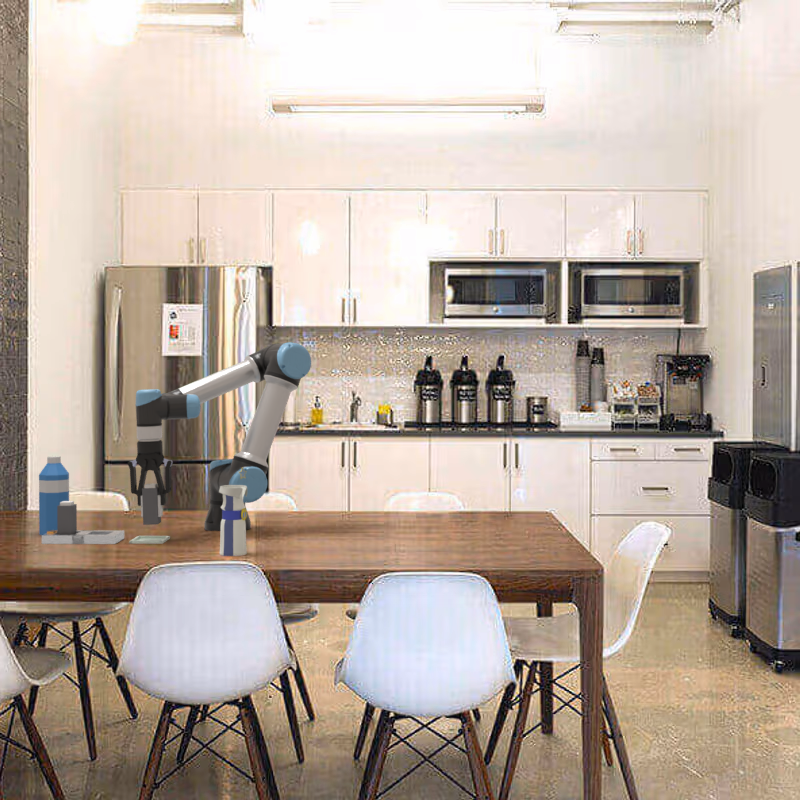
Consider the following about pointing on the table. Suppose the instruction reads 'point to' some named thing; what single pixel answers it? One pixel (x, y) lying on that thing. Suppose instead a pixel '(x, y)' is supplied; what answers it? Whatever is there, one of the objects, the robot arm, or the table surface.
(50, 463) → the water bottle
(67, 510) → the twin plug
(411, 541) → the table surface
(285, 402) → the robot arm
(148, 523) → the plug
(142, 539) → the tray
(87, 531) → the pdu strip
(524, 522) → the table surface
